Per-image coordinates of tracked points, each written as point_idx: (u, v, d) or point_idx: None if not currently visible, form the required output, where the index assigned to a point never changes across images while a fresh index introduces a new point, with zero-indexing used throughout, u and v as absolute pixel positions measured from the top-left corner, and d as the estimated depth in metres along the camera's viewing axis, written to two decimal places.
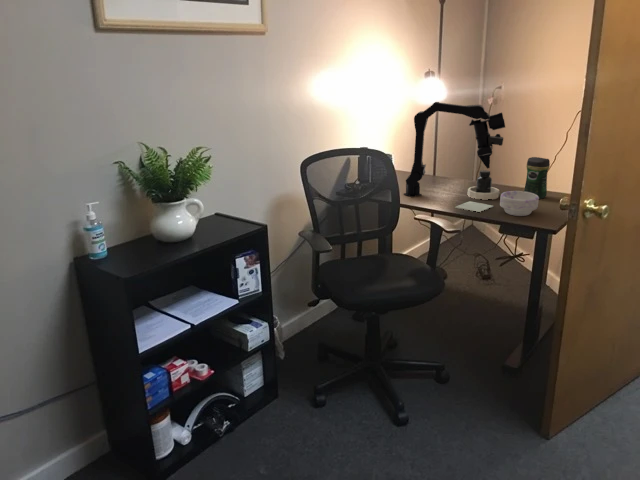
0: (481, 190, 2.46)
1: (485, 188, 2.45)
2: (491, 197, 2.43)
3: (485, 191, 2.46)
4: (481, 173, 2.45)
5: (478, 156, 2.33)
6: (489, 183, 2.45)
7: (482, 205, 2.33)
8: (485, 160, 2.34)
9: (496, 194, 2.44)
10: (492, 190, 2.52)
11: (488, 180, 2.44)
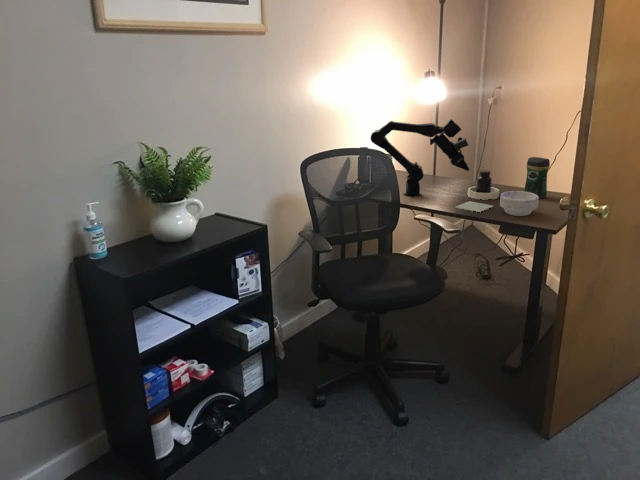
0: (481, 190, 2.46)
1: (485, 188, 2.45)
2: (491, 197, 2.43)
3: (485, 191, 2.46)
4: (481, 173, 2.45)
5: (454, 165, 2.40)
6: (489, 183, 2.45)
7: (482, 205, 2.33)
8: (462, 165, 2.41)
9: (496, 194, 2.44)
10: (492, 190, 2.52)
11: (488, 180, 2.44)
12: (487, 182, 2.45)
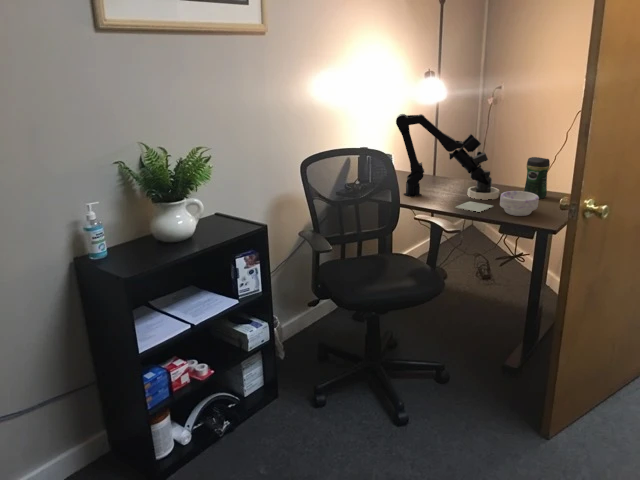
0: (481, 190, 2.46)
1: (485, 188, 2.45)
2: (491, 197, 2.43)
3: (485, 191, 2.46)
4: None
5: (474, 179, 2.42)
6: (489, 183, 2.45)
7: (482, 205, 2.33)
8: (481, 179, 2.43)
9: (496, 194, 2.44)
10: (492, 190, 2.52)
11: (488, 180, 2.44)
12: None
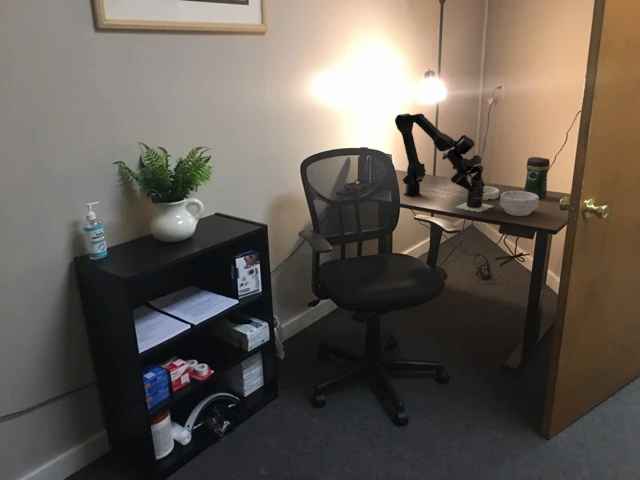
0: (468, 199, 2.30)
1: (471, 197, 2.29)
2: (491, 197, 2.43)
3: (471, 201, 2.29)
4: None
5: None
6: (476, 193, 2.27)
7: (482, 205, 2.33)
8: (465, 185, 2.26)
9: (496, 194, 2.44)
10: (492, 190, 2.52)
11: (475, 189, 2.27)
12: (473, 191, 2.27)
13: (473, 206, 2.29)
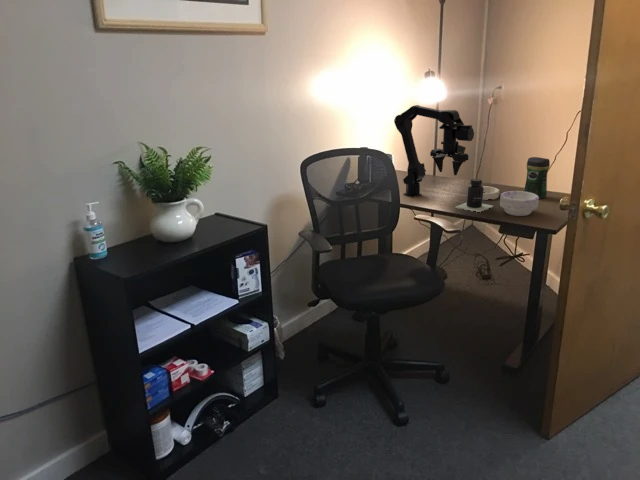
0: (468, 199, 2.30)
1: (471, 197, 2.29)
2: (491, 197, 2.43)
3: (471, 201, 2.29)
4: None
5: (456, 162, 2.29)
6: (476, 193, 2.27)
7: (482, 205, 2.33)
8: (457, 167, 2.33)
9: (496, 194, 2.44)
10: (492, 190, 2.52)
11: (475, 189, 2.27)
12: (473, 191, 2.27)
13: (473, 206, 2.29)
